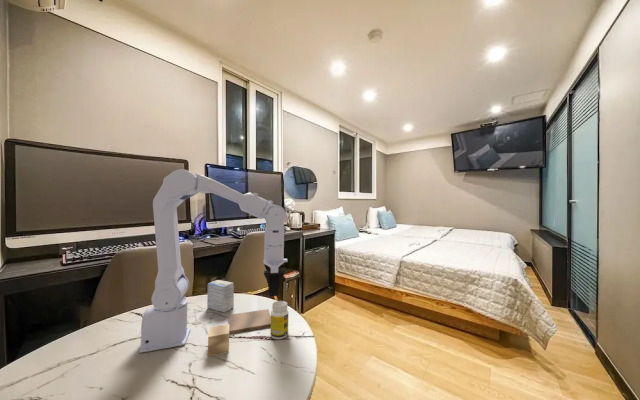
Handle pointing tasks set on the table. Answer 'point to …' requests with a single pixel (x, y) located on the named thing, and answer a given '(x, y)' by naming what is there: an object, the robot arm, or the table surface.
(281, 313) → the supplement bottle
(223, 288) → the medicine box
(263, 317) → the walnut board
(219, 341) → the oak cube
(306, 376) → the table surface
